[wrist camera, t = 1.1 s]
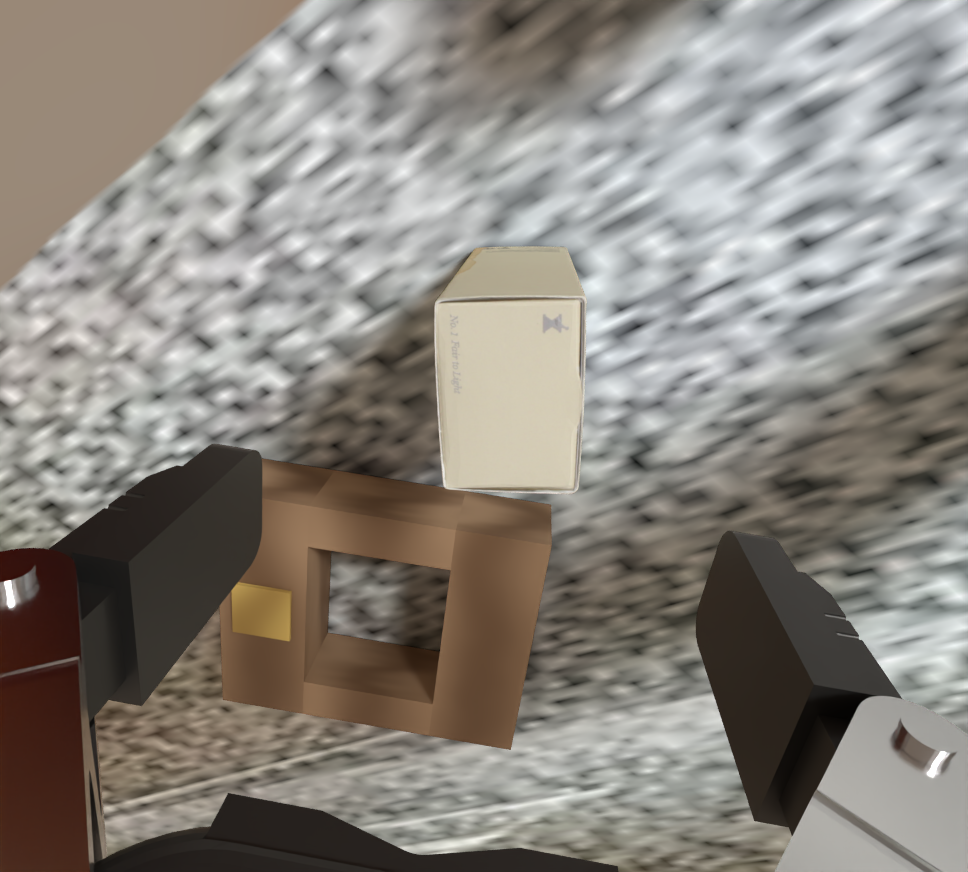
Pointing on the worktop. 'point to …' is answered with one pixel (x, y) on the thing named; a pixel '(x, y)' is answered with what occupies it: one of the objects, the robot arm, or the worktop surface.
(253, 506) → the robot arm
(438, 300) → the skincare box
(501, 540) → the brown square frame block
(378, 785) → the worktop surface
